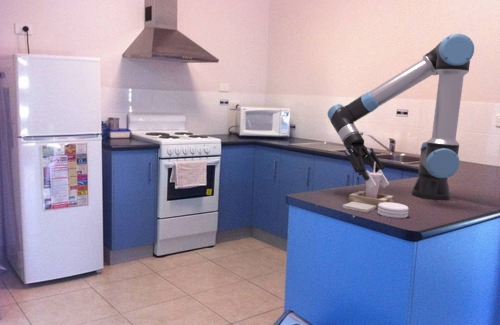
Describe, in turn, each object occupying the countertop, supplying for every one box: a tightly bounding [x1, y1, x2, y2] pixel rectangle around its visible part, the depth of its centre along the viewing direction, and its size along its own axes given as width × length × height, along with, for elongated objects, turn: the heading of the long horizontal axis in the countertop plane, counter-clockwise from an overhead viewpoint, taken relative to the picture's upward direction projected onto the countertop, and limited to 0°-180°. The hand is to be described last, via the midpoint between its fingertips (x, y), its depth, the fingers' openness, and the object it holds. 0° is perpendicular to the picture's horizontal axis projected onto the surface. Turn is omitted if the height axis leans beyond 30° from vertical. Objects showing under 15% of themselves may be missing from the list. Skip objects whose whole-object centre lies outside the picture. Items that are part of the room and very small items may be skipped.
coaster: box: [377, 202, 410, 219], centre depth 157 cm, size 10×10×4 cm
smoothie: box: [365, 162, 382, 198], centre depth 173 cm, size 6×6×14 cm
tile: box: [342, 202, 377, 213], centre depth 163 cm, size 9×9×1 cm
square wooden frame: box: [348, 190, 395, 209], centre depth 174 cm, size 13×13×3 cm
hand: (379, 186), depth 170 cm, fingers closed on smoothie, 6 cm apart
